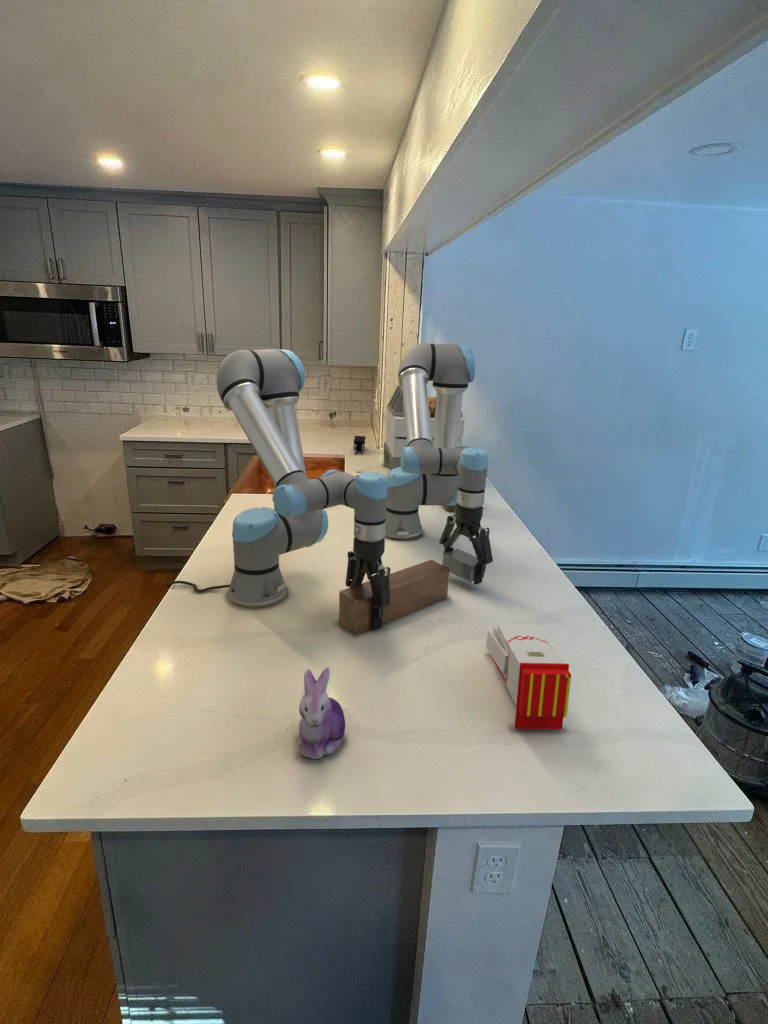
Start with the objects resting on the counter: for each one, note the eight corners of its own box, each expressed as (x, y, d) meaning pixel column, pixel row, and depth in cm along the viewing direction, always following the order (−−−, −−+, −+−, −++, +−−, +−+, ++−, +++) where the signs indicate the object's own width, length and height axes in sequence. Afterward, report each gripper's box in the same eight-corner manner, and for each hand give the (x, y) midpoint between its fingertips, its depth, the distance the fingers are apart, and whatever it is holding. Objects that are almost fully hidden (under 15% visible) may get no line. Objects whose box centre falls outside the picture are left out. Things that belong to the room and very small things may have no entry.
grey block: (442, 568, 167) (443, 553, 165) (455, 563, 170) (457, 548, 169) (470, 582, 159) (472, 566, 157) (484, 576, 163) (486, 561, 161)
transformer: (382, 463, 289) (386, 382, 275) (445, 464, 293) (451, 384, 279) (390, 482, 257) (394, 392, 243) (460, 483, 261) (468, 394, 247)
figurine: (306, 770, 97) (306, 697, 91) (287, 731, 105) (286, 662, 100) (357, 752, 101) (359, 682, 96) (334, 717, 109) (335, 650, 104)
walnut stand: (338, 623, 142) (339, 591, 139) (429, 588, 162) (431, 559, 159) (355, 635, 137) (356, 602, 134) (447, 597, 157) (449, 568, 154)
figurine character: (365, 457, 304) (365, 447, 318) (365, 443, 301) (365, 434, 315) (352, 456, 304) (353, 447, 318) (352, 443, 301) (353, 434, 314)
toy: (533, 609, 133) (580, 670, 104) (528, 661, 136) (573, 736, 107) (482, 608, 133) (514, 669, 103) (478, 661, 135) (509, 735, 106)
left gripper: (331, 527, 140) (330, 609, 148) (385, 555, 126) (380, 643, 134) (355, 521, 145) (353, 600, 153) (409, 547, 131) (404, 633, 138)
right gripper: (430, 495, 163) (425, 564, 171) (494, 519, 147) (485, 594, 154) (448, 491, 168) (442, 558, 175) (512, 513, 152) (502, 587, 159)
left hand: (366, 620), depth 143 cm, fingers open, 7 cm apart
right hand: (462, 575), depth 165 cm, fingers closed on grey block, 11 cm apart
